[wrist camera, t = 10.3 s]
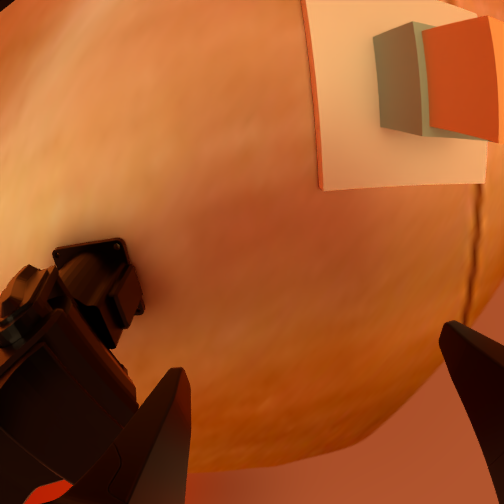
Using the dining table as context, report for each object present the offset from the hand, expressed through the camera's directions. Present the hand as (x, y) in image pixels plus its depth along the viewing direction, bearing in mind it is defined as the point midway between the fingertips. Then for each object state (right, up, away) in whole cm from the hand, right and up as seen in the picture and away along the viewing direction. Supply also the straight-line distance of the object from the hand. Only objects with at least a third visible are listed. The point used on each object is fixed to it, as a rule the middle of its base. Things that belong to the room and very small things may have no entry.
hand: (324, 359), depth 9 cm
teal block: (+8, +14, +7) cm, 18 cm away
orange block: (+9, +12, +2) cm, 15 cm away
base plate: (+8, +15, +8) cm, 19 cm away
